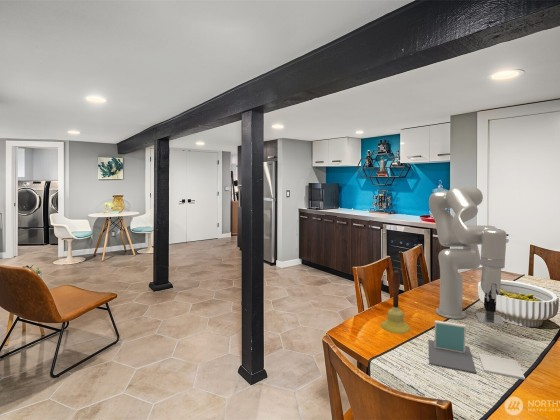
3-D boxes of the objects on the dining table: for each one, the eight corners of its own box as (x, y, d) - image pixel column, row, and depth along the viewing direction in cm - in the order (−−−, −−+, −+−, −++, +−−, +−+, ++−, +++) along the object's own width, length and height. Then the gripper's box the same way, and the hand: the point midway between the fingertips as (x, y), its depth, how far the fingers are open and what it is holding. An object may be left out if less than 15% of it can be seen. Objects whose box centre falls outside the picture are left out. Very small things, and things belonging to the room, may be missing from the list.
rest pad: (478, 355, 114) (478, 353, 114) (515, 361, 109) (515, 360, 109) (484, 371, 104) (484, 369, 104) (525, 379, 99) (525, 377, 99)
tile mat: (428, 340, 125) (428, 339, 125) (469, 348, 119) (469, 346, 119) (429, 364, 108) (429, 362, 108) (476, 373, 102) (476, 372, 102)
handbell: (381, 331, 133) (381, 274, 131) (380, 319, 145) (380, 266, 143) (412, 335, 130) (413, 276, 128) (408, 322, 142) (409, 268, 140)
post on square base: (475, 314, 124) (476, 290, 123) (499, 317, 121) (500, 292, 120) (478, 322, 117) (479, 297, 116) (504, 326, 113) (506, 300, 112)
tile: (434, 345, 120) (434, 320, 119) (464, 350, 116) (465, 324, 115) (434, 347, 118) (435, 322, 118) (464, 353, 114) (465, 326, 114)
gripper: (477, 256, 125) (474, 300, 127) (484, 266, 111) (481, 316, 113) (499, 257, 122) (497, 303, 124) (510, 269, 108) (506, 320, 110)
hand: (489, 309), depth 118 cm, fingers closed on post on square base, 2 cm apart
